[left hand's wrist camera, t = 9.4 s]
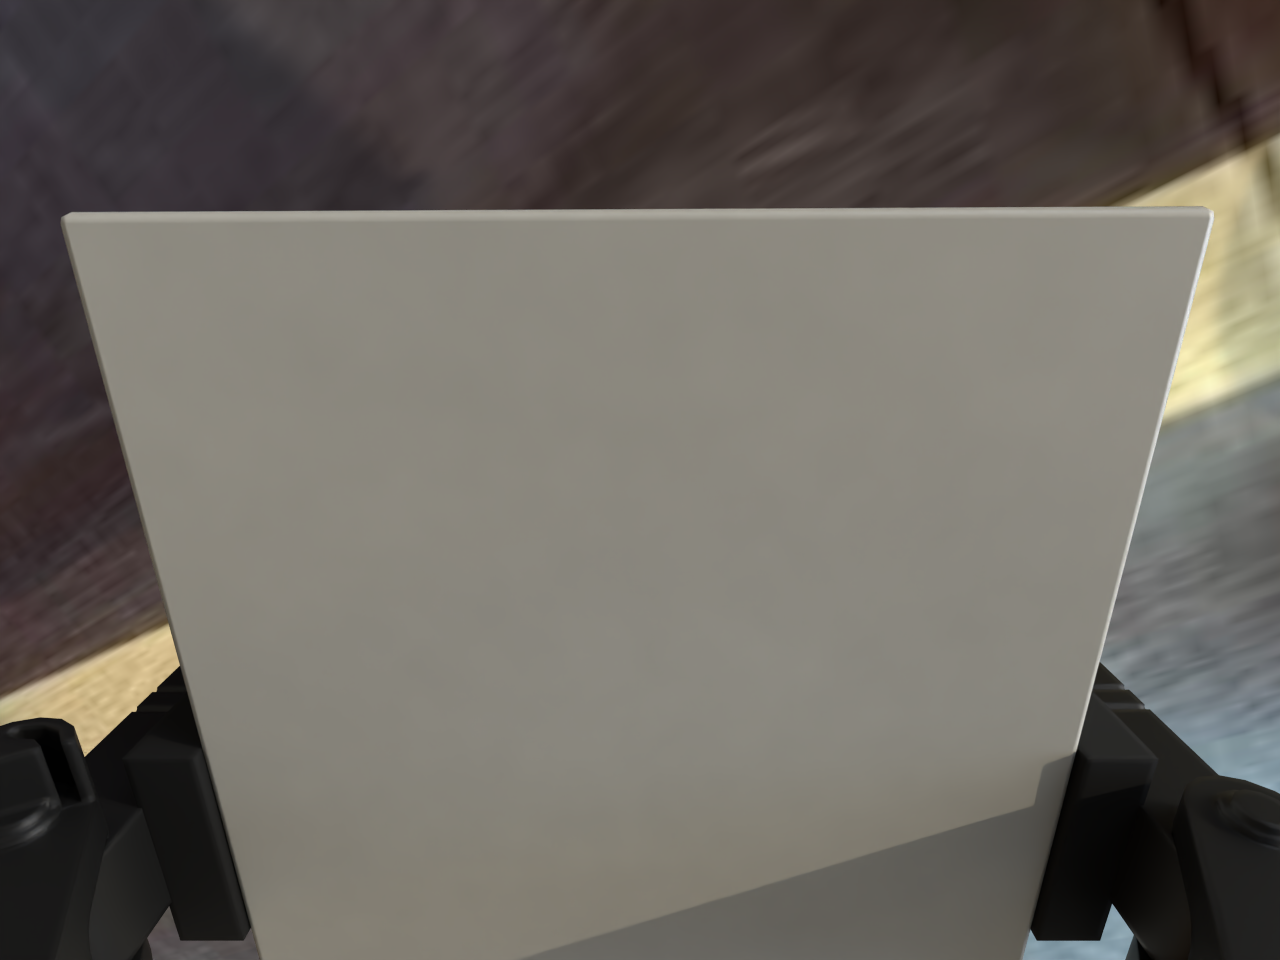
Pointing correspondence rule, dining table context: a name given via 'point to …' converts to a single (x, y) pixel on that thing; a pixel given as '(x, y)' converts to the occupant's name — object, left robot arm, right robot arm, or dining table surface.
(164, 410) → the thick board
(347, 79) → the dining table surface
